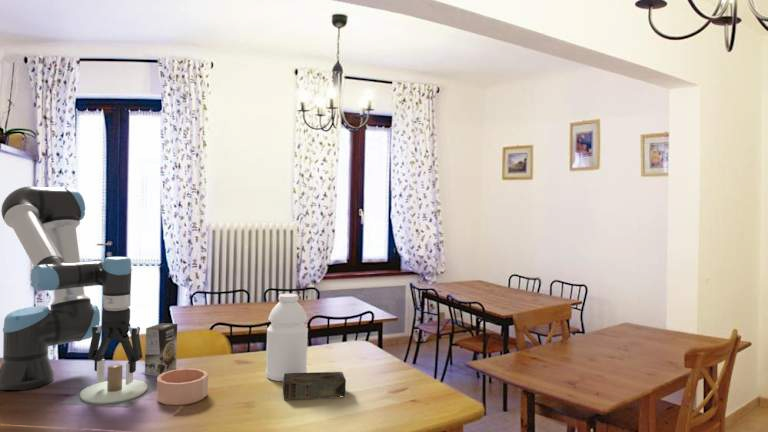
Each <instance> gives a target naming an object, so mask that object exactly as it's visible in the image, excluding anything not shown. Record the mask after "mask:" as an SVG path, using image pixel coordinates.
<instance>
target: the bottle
mask: <svg viewBox="0 0 768 432" xmlns="http://www.w3.org/2000/svg"><path fill="white" fill-rule="evenodd" d="M298 301H299V295H298V294H296V293H281V294H279V295H278V303H276V304H275V305H274V307H272V309H271V311H270V313H269V316H268V321H269V322H270V325H269V326H268V327H267V328H266V354H265V355H266V356H265V357H266V359H265V361H266V362H265V363H266V364H265V365H266V367H265V376H266V377H267V378H268V379H269V380H272V381H275V382H283V380H284V374H285V373H307V370H308V368H307V363H308V362H307V360H308V359H307V358H308V335H309V334H308V332H309V328H308V326H307V325H306V324H305V322H306V321H307V320H308V316H307V313H306V310H305V309H304V307H303V306H302V305H301V304H300V303H299V302H298Z"/></svg>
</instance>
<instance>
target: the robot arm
mask: <svg viewBox="0 0 768 432" xmlns="http://www.w3.org/2000/svg"><path fill="white" fill-rule="evenodd" d="M85 211H86V203H85V200H84V198H83V196H82V193H80V192H79V191H78V190H77V189H76V188H67V187H51V186H50V187H49V186H48V187H46V186H44V187H43V186H22V187H20V188H17V189H15V190H13V191H12V192H11V193H9V194H8V195H7V196H6V197H5V198H4V201H3V202H2V205H1V211H0V212H1V216H2V219H3V221H4V223H5V225H7V227H8V228H11V229H13V231H14V233H15V235H16V237H17V238H18V240H19V242H20V244H21V246H22V247H23V249H24V251H25V253H26V254H27V257H28V258H29V260H30V262H31V264H32V265H33V268H32V269H31V273H30V281H31V286H32V288H33V289H35V291H37V292H38V291H39V292H40V291H53V292H54V300H53V301H52V303H51V304H50V308H49V307H48V306H45V305H38V306H28V307H24V308H19V309H17V310H14V311H12V312H10V313H8V314H6V315H5V317H4V318H3V319H4V322H3V328H2V332H3V339H2V340H3V346H2V347H3V348H2V349H3V351H2V354H3V356H2V357H3V358H2V362H1V363H2V364H1V366H0V389H1V390H0V391H2V390H20V391H26V390H25V389H28V390H32V388H33V389H37V388H41V387H43V386H46V385H48V384H50V383H52V382H53V381H54V380H55V379H54V378H55V371H54V369H53V367H52V364H51V361H50V358H49V347H51V346H57V345H63V344H64V345H65V344H69V343H74V342H80V341H85V340H89V339H91V340H90V346H89V350H88V354H87V359H91V360H93V361H94V367H93V368H94V371H95V372H96V383H100V382H102V381H104V380H105V365H106V362H105V360H106V359H105V358H104V354H105V352H107V349H108V347H109V345H110V342H111V341H112V340H118V342H119V343H120V344H121V346H122V349H123V351H124V354H125V357H126V358H127V362H126V363H125V379H126V385H128V384H130V383H132V382H133V379H134V373H136V370H137V362H138V361H140V360H141V359H143V352H142V351H143V349H142V344H141V339H140V330H141V328H140V326H136V327H135V326H132V325H131V324H130V321H131V308H130V307H131V294H132V293H131V292H132V291H131V287H132V270H133V269H132V259H131V258H130V257H128V256H107V257H105V258H104V259H103V260H102V259H92V260H89V261H81V258H80V251H79V244H78V236H77V228H78V227H79V226H80V224H81V222H80V221H82V220H83V219H84V217H85V215H86V212H85ZM94 286H101V287H102V308H103V310H101V311H102V313H100V308H98V305H96V304H94V303H91V298H90V297H88V296H87V295H86V294H85V289H84V287H85V288H86V287H94ZM101 314H102V315H101ZM101 320H102V324H101V325H100V321H101ZM102 332H103V333H104V335H103V336H102V338H101V335H102ZM129 334H130V336H129ZM130 339H131V341H130ZM100 341H101V343H100Z"/></svg>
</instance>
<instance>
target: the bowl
mask: <svg viewBox="0 0 768 432" xmlns="http://www.w3.org/2000/svg"><path fill="white" fill-rule="evenodd" d="M208 379H209V374H208V372H207V371H206V370H203V369H199V368H189V367H188V368H176V369H174V370H171V371H168V372H164V373H162V374H161V375H159V376H156V382H157V387H156V401H157V402H159V403H161V404H163V405H168V406H169V405H171V406H173V405H174V406H180V405H182V406H189V405H191V404H195V403H198V402H200V401H201V400H203V399H204V398H205V397H206V396H208V392H209V391H208V387H209V386H208V385H209V384H208V383H209V382H208V381H209V380H208Z"/></svg>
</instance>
